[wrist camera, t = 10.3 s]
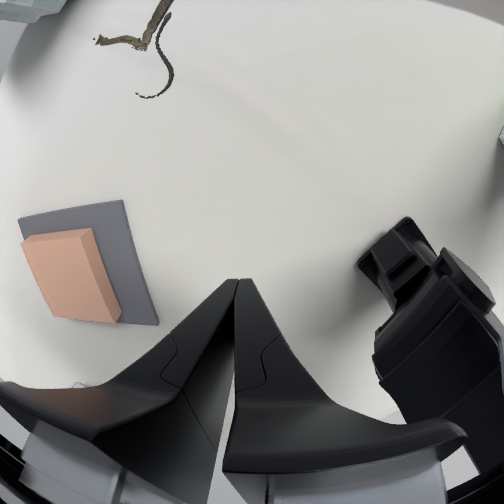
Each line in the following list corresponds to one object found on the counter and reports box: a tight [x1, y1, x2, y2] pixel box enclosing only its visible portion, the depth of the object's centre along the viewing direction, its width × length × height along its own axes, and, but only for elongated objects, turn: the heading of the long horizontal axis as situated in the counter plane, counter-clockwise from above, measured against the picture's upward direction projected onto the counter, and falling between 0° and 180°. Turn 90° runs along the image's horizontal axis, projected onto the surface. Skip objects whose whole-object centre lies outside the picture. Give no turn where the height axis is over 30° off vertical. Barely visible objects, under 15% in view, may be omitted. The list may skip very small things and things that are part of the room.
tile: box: [20, 228, 122, 324], centre depth 25 cm, size 2×10×10 cm
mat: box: [18, 200, 159, 325], centre depth 26 cm, size 16×14×1 cm
